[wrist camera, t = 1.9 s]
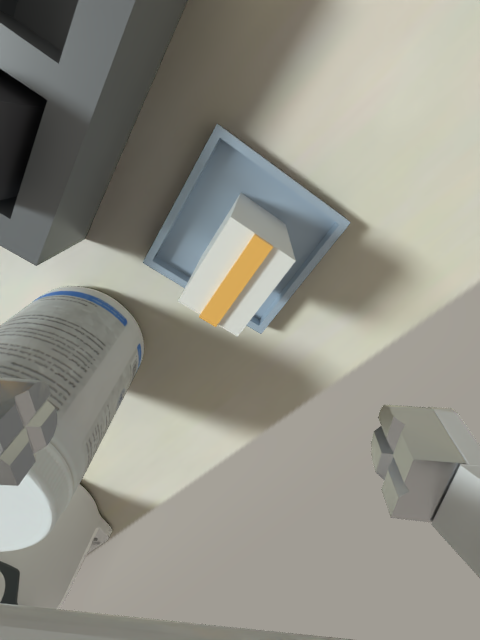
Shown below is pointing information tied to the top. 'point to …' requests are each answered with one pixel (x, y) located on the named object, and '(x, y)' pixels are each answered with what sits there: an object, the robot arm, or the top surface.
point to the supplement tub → (65, 396)
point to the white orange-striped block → (239, 267)
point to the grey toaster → (70, 109)
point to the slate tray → (218, 198)
